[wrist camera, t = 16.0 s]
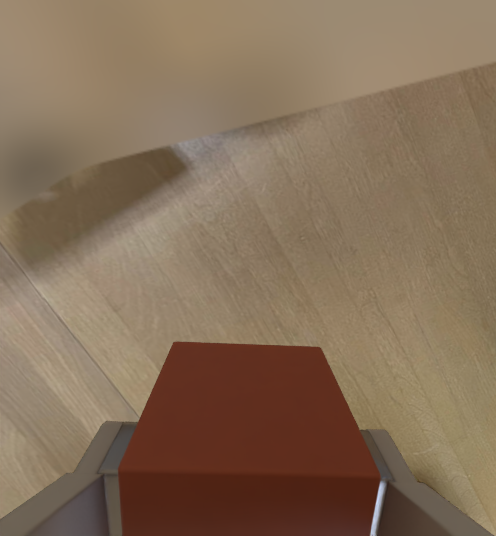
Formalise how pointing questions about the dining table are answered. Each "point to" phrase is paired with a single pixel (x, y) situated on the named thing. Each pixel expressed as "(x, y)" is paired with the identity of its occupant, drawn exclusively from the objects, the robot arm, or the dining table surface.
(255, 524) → the block
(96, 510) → the robot arm
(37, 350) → the dining table surface
